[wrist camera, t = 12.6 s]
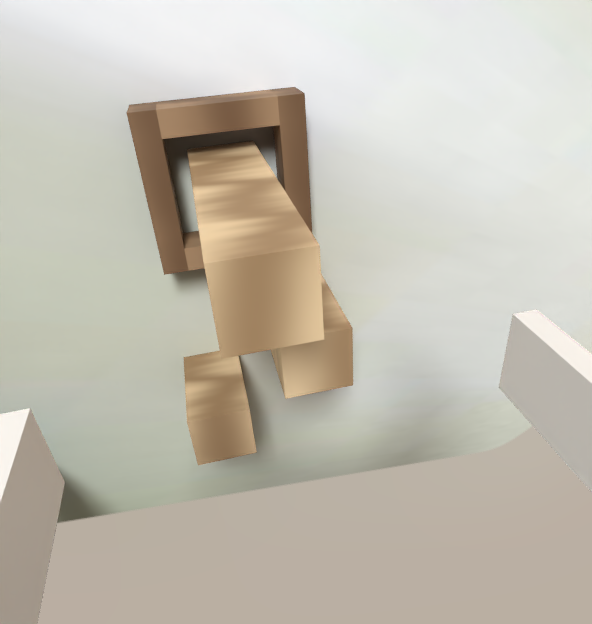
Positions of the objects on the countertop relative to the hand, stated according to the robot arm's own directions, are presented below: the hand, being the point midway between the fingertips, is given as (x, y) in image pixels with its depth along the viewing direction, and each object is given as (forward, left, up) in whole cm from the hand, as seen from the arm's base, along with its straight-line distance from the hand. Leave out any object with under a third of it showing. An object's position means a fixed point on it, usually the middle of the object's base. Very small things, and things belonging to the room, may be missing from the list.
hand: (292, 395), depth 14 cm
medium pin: (+3, -8, -21) cm, 23 cm away
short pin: (-3, -15, -21) cm, 26 cm away
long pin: (0, 0, -21) cm, 21 cm away
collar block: (0, 0, -21) cm, 21 cm away
